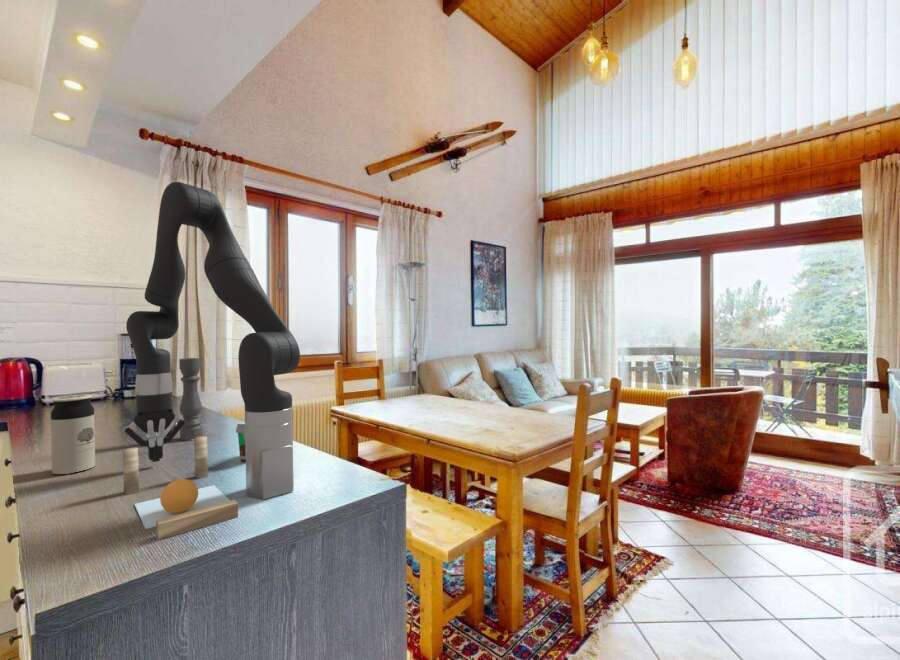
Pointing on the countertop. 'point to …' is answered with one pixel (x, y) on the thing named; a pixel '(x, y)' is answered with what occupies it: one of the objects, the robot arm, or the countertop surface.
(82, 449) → the travel mug
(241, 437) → the food container
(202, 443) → the right post
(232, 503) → the wall
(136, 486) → the left post
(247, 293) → the robot arm
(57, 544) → the countertop surface
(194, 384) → the candle holder
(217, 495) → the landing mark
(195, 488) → the ball
